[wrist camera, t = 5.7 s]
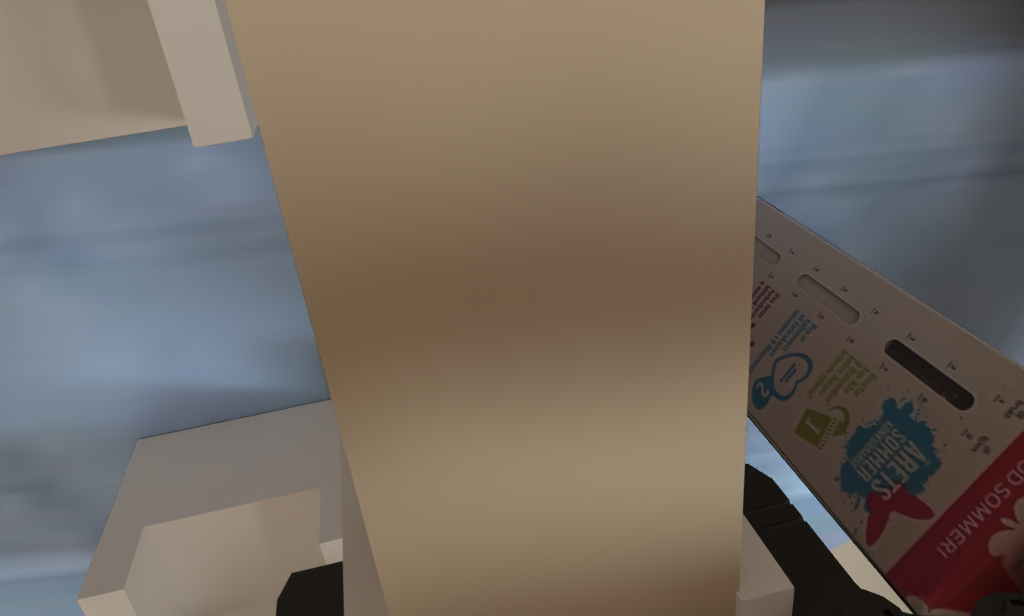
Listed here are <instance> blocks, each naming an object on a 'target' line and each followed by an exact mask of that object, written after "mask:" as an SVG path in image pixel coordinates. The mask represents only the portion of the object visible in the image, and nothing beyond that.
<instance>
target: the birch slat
mask: <svg viewBox="0 0 1024 616" xmlns="http://www.w3.org/2000/svg"><path fill="white" fill-rule="evenodd" d="M225 2H226V6H227V10H228V14H229V17H230V21H231V25H232V29H233V32H234V36H235V40H236V44H237V47H238V51H239V55H240V59H241V62H242V66H243V70H244V74H245V77H246V81H247V85H248V89H249V92H250V96H251V100H252V104H253V107H254V111H255V115H256V119H257V122H258V126H259V130H260V134H261V137H262V141H263V145H264V149H265V152H266V156H267V160H268V164H269V167H270V171H271V175H272V179H273V182H274V186H275V190H276V194H277V197H278V201H279V205H280V209H281V212H282V216H283V220H284V224H285V227H286V231H287V235H288V239H289V242H290V246H291V250H292V254H293V257H294V261H295V265H296V269H297V272H298V276H299V280H300V283H301V287H302V291H303V295H304V298H305V302H306V306H307V310H308V313H309V317H310V321H311V325H312V328H313V332H314V336H315V340H316V343H317V347H318V351H319V355H320V358H321V362H322V366H323V370H324V373H325V377H326V381H327V385H328V388H329V392H330V396H331V400H332V403H333V407H334V411H335V415H336V418H337V422H338V426H339V430H340V433H341V437H342V441H343V445H344V448H345V452H346V456H347V460H348V463H349V467H350V471H351V475H352V478H353V482H354V486H355V490H356V493H357V497H358V501H359V505H360V508H361V512H362V516H363V520H364V523H365V527H366V531H367V535H368V538H369V542H370V546H371V550H372V553H373V557H374V561H375V565H376V568H377V572H378V576H379V580H380V583H381V587H382V591H383V595H384V598H385V602H386V606H387V610H388V613H389V616H735V612H736V592H738V591H739V586H740V563H741V540H742V517H743V494H744V471H745V448H746V425H747V401H748V378H749V355H750V332H751V309H752V286H753V263H754V240H755V217H756V194H757V171H758V148H759V125H760V102H761V79H762V56H763V33H764V10H765V0H225Z"/></svg>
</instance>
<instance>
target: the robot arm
mask: <svg viewBox="0 0 1024 616" xmlns="http://www.w3.org/2000/svg"><path fill="white" fill-rule="evenodd" d="M340 444H341V492H342V540H343V561H340V562H336V563H332V564H328V565H323V566H319V567H315V568H311V569H306V570H302V571H298V572H294V573H291V575H290V577H289V579H288V580H287V582H286V584H285V586H284V588H283V590H282V592H281V594H280V595H279V597H278V599H277V606H276V616H389V613H388V610H387V606H386V602H385V598H384V595H383V591H382V587H381V583H380V580H379V576H378V572H377V568H376V565H375V561H374V557H373V553H372V550H371V546H370V542H369V538H368V535H367V531H366V527H365V523H364V520H363V516H362V512H361V508H360V505H359V501H358V497H357V493H356V490H355V486H354V482H353V478H352V475H351V471H350V467H349V463H348V460H347V456H346V452H345V448H344V445H343V441H342V437H341V433H340ZM735 616H924V615H916V614H908V613H905V612H902V611H901V610H900V608H899V607H897V606H896V605H894V604H893V603H892V602H890V601H889V600H887V599H886V598H884V597H882V596H880V595H878V594H875V593H872V592H869V591H867V590H864V589H861V588H860V587H859V586H858V585H857V584H856V583H855V582H854V581H853V580H852V578H851V577H850V576H849V575H848V573H847V572H846V571H845V570H844V568H843V567H842V566H841V564H840V563H839V562H838V561H837V560H836V558H835V557H834V556H833V554H832V553H831V552H830V551H829V549H828V548H827V547H826V546H825V544H824V543H823V542H822V541H821V539H820V538H819V537H818V536H817V534H816V533H815V532H814V531H813V529H812V528H811V527H810V525H809V524H808V523H807V522H804V520H803V517H802V515H801V514H800V513H799V512H798V510H797V509H796V508H795V507H794V505H793V504H790V502H789V499H788V498H787V497H786V495H785V494H784V493H783V492H782V490H781V489H780V488H779V486H778V485H777V484H776V483H775V481H774V480H773V479H772V478H770V477H768V476H767V475H765V474H764V473H762V472H760V471H759V470H757V469H756V468H754V467H752V466H751V465H749V464H745V471H744V494H743V517H742V540H741V563H740V586H739V591H738V592H736V612H735ZM970 616H1024V595H1022V594H1017V593H1012V592H1002V593H991V594H988V595H987V596H985V597H983V598H981V599H979V600H977V602H976V604H975V606H974V608H973V610H972V612H971V615H970Z"/></svg>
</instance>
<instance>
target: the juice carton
mask: <svg viewBox="0 0 1024 616" xmlns="http://www.w3.org/2000/svg"><path fill="white" fill-rule="evenodd" d="M747 416H748V417H749V419H750V420H751V421H752V422H753V423H754V425H755V426H756V427H757V428H758V429H759V431H760V432H761V433H762V434H763V435H764V437H765V438H766V439H767V440H768V441H769V442H770V444H771V445H772V446H773V447H774V448H775V450H776V451H777V452H778V453H779V454H780V456H781V457H782V458H783V459H784V460H785V462H786V463H787V464H788V465H789V466H790V468H791V469H792V470H793V471H794V472H795V473H796V475H797V476H798V477H799V478H800V479H801V481H802V482H803V483H804V484H805V485H806V487H807V488H808V489H809V490H810V491H811V493H812V494H813V495H814V496H815V497H816V499H817V500H818V501H819V502H820V503H821V504H822V506H823V507H824V508H825V509H826V510H827V512H828V513H829V514H830V515H831V516H832V518H833V519H834V520H835V521H836V522H837V524H838V525H839V526H840V527H841V528H842V530H843V531H844V532H845V533H846V534H847V536H848V537H849V538H850V539H851V540H852V541H853V543H854V544H855V545H856V546H857V547H858V549H859V550H860V551H861V552H862V553H863V555H864V556H865V557H866V558H867V559H868V561H869V562H870V563H871V564H872V565H873V567H874V568H875V569H876V570H877V571H878V572H879V574H881V576H882V577H883V578H884V580H885V581H886V582H887V583H888V584H889V586H890V587H891V588H892V589H893V590H894V591H895V593H896V594H897V595H898V596H899V598H900V599H901V600H902V601H903V602H904V603H905V605H906V606H907V607H908V608H909V609H910V611H911V612H912V613H913V614H916V615H924V616H970V615H971V612H972V610H973V608H974V606H975V604H976V602H977V600H979V599H981V598H983V597H985V596H987V595H988V594H991V593H1002V592H1012V593H1017V594H1022V595H1024V367H1023V366H1021V365H1020V364H1018V363H1016V362H1015V361H1013V360H1012V359H1010V358H1009V357H1007V356H1006V355H1004V354H1002V353H1001V352H999V351H998V350H996V349H995V348H993V347H992V346H990V345H988V344H987V343H985V342H984V341H982V340H981V339H979V338H978V337H976V336H974V335H973V334H971V333H970V332H968V331H967V330H965V329H964V328H962V327H960V326H959V325H957V324H956V323H954V322H953V321H951V320H950V319H948V318H946V317H945V316H943V315H942V314H940V313H939V312H937V311H936V310H934V309H933V308H931V307H929V306H928V305H926V304H925V303H923V302H922V301H920V300H919V299H917V298H915V297H914V296H912V295H911V294H909V293H908V292H906V291H905V290H903V289H901V288H900V287H898V286H897V285H895V284H894V283H892V282H891V281H889V280H887V279H886V278H884V277H883V276H881V275H880V274H878V273H877V272H875V271H873V270H872V269H870V268H869V267H867V266H866V265H864V264H863V263H861V262H859V261H858V260H856V259H855V258H853V257H852V256H850V255H849V254H847V253H845V252H844V251H842V250H841V249H839V248H838V247H836V246H835V245H833V244H832V243H830V242H828V241H827V240H825V239H824V238H822V237H821V236H819V235H818V234H816V233H814V232H813V231H811V230H810V229H808V228H807V227H805V226H804V225H802V224H800V223H799V222H797V221H796V220H794V219H793V218H791V217H790V216H788V215H786V214H785V213H783V212H782V211H780V210H779V209H777V208H776V207H774V206H772V205H771V204H769V203H768V202H766V201H765V200H763V199H762V198H760V197H758V196H757V195H756V217H755V240H754V263H753V286H752V309H751V332H750V355H749V378H748V401H747Z"/></svg>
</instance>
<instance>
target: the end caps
mask: <svg viewBox="0 0 1024 616" xmlns="http://www.w3.org/2000/svg"><path fill="white" fill-rule="evenodd" d="M186 125H187V127H188V130H189V133H190V137H191V140H192V143H193V146H194V148H196V147H202V146H208V145H214V144H220V143H226V142H232V141H238V140H244V139H250V138H253V136H254V134H255V131H256V128H257V126H258V122H257V119H256V115H255V111H254V107H253V104H252V100H251V96H250V92H249V89H248V85H247V81H246V77H245V74H244V70H243V66H242V62H241V59H240V55H239V51H238V47H237V44H236V40H235V36H234V32H233V29H232V25H231V21H230V17H229V14H228V10H227V6H226V2H225V0H0V155H4V154H11V153H17V152H23V151H29V150H36V149H42V148H48V147H54V146H61V145H67V144H73V143H79V142H86V141H92V140H98V139H104V138H111V137H117V136H123V135H129V134H136V133H142V132H148V131H154V130H161V129H167V128H173V127H179V126H186ZM340 561H343V540H342V492H341V444H340V430H339V426H338V422H337V418H336V415H335V411H334V407H333V403H332V400H331V399H330V400H325V401H321V402H316V403H311V404H306V405H301V406H297V407H292V408H287V409H282V410H278V411H273V412H268V413H263V414H259V415H254V416H249V417H244V418H239V419H235V420H230V421H225V422H220V423H216V424H211V425H206V426H201V427H197V428H192V429H187V430H182V431H177V432H173V433H168V434H163V435H158V436H154V437H149V438H144V439H139V440H138V441H137V443H136V446H135V449H134V451H133V454H132V456H131V459H130V462H129V464H128V467H127V470H126V472H125V475H124V477H123V480H122V483H121V485H120V488H119V491H118V493H117V496H116V498H115V501H114V504H113V506H112V509H111V512H110V514H109V517H108V519H107V522H106V525H105V527H104V530H103V533H102V535H101V538H100V540H99V543H98V546H97V548H96V551H95V554H94V556H93V559H92V561H91V564H90V567H89V569H88V572H87V575H86V577H85V580H84V582H83V585H82V588H81V590H80V593H79V596H78V598H77V602H78V604H79V605H80V607H81V609H82V611H83V613H84V615H85V616H276V606H277V599H278V597H279V595H280V594H281V592H282V590H283V588H284V586H285V584H286V582H287V580H288V579H289V577H290V575H291V573H294V572H298V571H302V570H306V569H311V568H315V567H319V566H323V565H328V564H332V563H336V562H340Z"/></svg>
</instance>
